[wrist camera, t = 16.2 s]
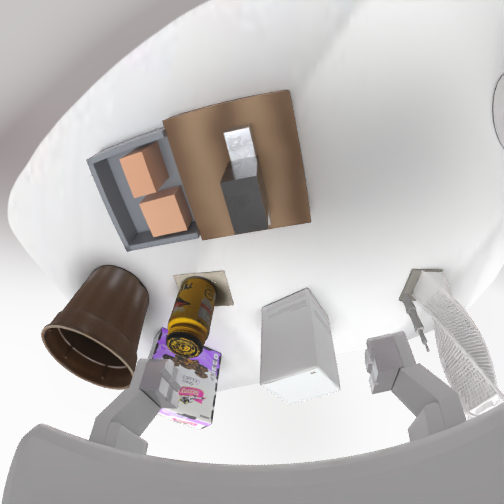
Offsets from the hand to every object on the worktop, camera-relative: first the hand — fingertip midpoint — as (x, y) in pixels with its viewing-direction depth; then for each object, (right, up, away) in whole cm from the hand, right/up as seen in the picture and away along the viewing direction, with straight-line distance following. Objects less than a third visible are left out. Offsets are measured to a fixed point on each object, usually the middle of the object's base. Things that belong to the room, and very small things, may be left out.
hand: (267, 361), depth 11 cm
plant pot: (-24, -3, +36) cm, 44 cm away
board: (-2, +15, +23) cm, 27 cm away
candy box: (-14, -15, +45) cm, 49 cm away
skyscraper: (+30, -1, +32) cm, 44 cm away
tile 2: (-12, +14, +20) cm, 27 cm away
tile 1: (-12, +10, +26) cm, 30 cm away
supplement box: (+7, -6, +37) cm, 38 cm away
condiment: (-8, -2, +35) cm, 36 cm away
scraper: (-1, +13, +20) cm, 24 cm away
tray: (-14, +13, +25) cm, 31 cm away
